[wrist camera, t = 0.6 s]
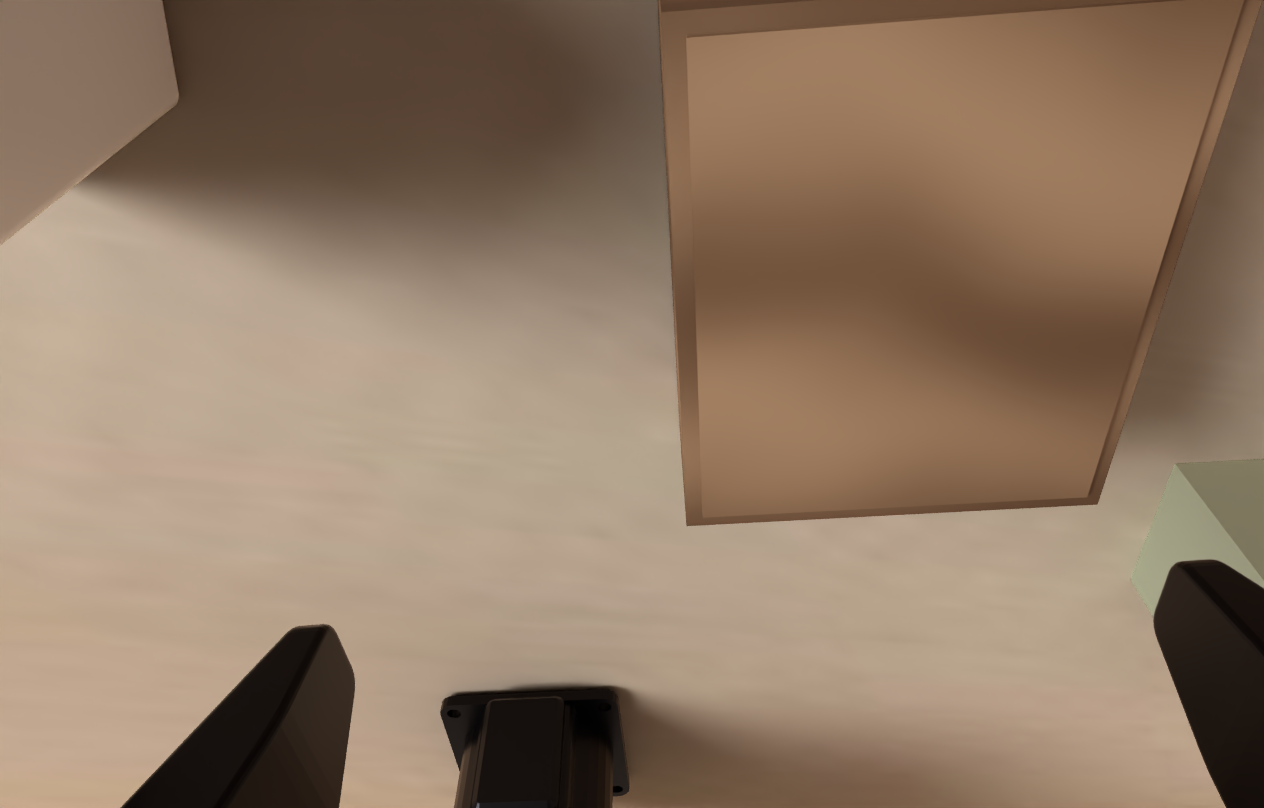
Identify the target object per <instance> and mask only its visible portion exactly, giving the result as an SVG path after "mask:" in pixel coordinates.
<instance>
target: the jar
mask: <svg viewBox="0 0 1264 808" xmlns="http://www.w3.org/2000/svg"><path fill="white" fill-rule="evenodd" d="M178 100H179V91H178V86H177V80H176V74H175V69H174V63H173V58H172V52H171V46H170V41H169V35H168V29H167V24H166V18H165V12H164V7H163V1H162V0H0V245H2V244H3V243H4V242H5V241H7V240H8V239H9V238H10V237H12V236H13V235H14V234H15V233H17V232H18V231H19V230H20V229H22V228H23V227H24V226H25V225H27V224H28V223H29V222H30V221H32V220H33V219H34V218H35V217H37V216H38V215H39V214H40V213H42V212H43V211H44V210H45V209H47V208H48V207H49V206H50V205H52V204H53V203H54V202H55V201H57V200H58V199H59V198H60V197H62V196H63V195H64V194H65V193H67V192H68V191H69V190H70V189H72V188H73V187H74V186H75V185H77V184H78V183H79V182H80V181H82V180H83V179H84V178H85V177H87V176H88V175H89V174H90V173H92V172H93V171H94V170H95V169H97V168H98V167H99V166H100V165H102V164H103V163H104V162H105V161H107V160H108V159H109V158H110V157H112V156H113V155H114V154H115V153H117V152H118V151H119V150H120V149H122V148H123V147H124V146H125V145H127V144H128V143H129V142H130V141H132V140H133V139H134V138H135V137H137V136H138V135H139V134H140V133H142V132H143V131H144V130H145V129H147V128H148V127H149V126H150V125H152V124H153V123H154V122H155V121H157V120H158V119H159V118H160V117H162V116H163V115H164V114H165V113H167V112H168V111H169V110H170V109H172V108H173V107H174V106H175V105H176V104H177V102H178Z"/></svg>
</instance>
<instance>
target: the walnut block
mask: <svg viewBox="0 0 1264 808" xmlns="http://www.w3.org/2000/svg"><path fill="white" fill-rule="evenodd" d="M1261 3H1262V0H658V15H659V34H660V54H661V74H662V93H663V113H664V132H665V152H666V171H667V191H668V211H669V230H670V250H671V269H672V289H673V308H674V328H675V348H676V367H677V387H678V406H679V426H680V440H681V454H682V468H683V482H684V496H685V510H686V524H687V526H696V525H715V524H734V523H753V522H772V521H791V520H810V519H829V518H848V517H867V516H886V515H905V514H924V513H943V512H962V511H981V510H1000V509H1019V508H1038V507H1057V506H1076V505H1095V504H1098V501H1099V498H1100V495H1101V492H1102V489H1103V486H1104V483H1105V480H1106V477H1107V474H1108V471H1109V468H1110V464H1111V461H1112V458H1113V455H1114V452H1115V449H1116V446H1117V443H1118V440H1119V437H1120V434H1121V431H1122V428H1123V425H1124V422H1125V419H1126V416H1127V413H1128V409H1129V406H1130V403H1131V400H1132V397H1133V394H1134V391H1135V388H1136V385H1137V382H1138V379H1139V376H1140V373H1141V370H1142V367H1143V364H1144V361H1145V358H1146V355H1147V351H1148V348H1149V345H1150V342H1151V339H1152V336H1153V333H1154V330H1155V327H1156V324H1157V321H1158V318H1159V315H1160V312H1161V309H1162V306H1163V303H1164V300H1165V296H1166V293H1167V290H1168V287H1169V284H1170V281H1171V278H1172V275H1173V272H1174V269H1175V266H1176V263H1177V260H1178V257H1179V254H1180V251H1181V248H1182V245H1183V241H1184V238H1185V235H1186V232H1187V229H1188V226H1189V223H1190V220H1191V217H1192V214H1193V211H1194V208H1195V205H1196V202H1197V199H1198V196H1199V193H1200V190H1201V187H1202V183H1203V180H1204V177H1205V174H1206V171H1207V168H1208V165H1209V162H1210V159H1211V156H1212V153H1213V150H1214V147H1215V144H1216V141H1217V138H1218V135H1219V132H1220V128H1221V125H1222V122H1223V119H1224V116H1225V113H1226V110H1227V107H1228V104H1229V101H1230V98H1231V95H1232V92H1233V89H1234V86H1235V83H1236V80H1237V77H1238V74H1239V70H1240V67H1241V64H1242V61H1243V58H1244V55H1245V52H1246V49H1247V46H1248V43H1249V40H1250V37H1251V34H1252V31H1253V28H1254V25H1255V22H1256V19H1257V15H1258V12H1259V9H1260V6H1261Z"/></svg>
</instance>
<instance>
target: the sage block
mask: <svg viewBox="0 0 1264 808" xmlns="http://www.w3.org/2000/svg"><path fill="white" fill-rule="evenodd" d="M1205 559H1213V560H1218V561H1221V562H1223V563H1225V564H1227V565H1228V566H1230V567H1231V568H1233V569H1235V570H1236V571H1238V572H1239V573H1241V574H1242V575H1244V576H1246V577H1247V578H1249V579H1250V580H1252V581H1253V582H1255V583H1257V584H1258V585H1260V586H1261V587H1263V588H1264V459H1253V460H1235V461H1217V462H1198V463H1180V464H1175V465H1174V467H1173V470H1172V473H1171V475H1170V478H1169V480H1168V483H1167V486H1166V488H1165V491H1164V494H1163V496H1162V499H1161V501H1160V504H1159V507H1158V509H1157V512H1156V514H1155V517H1154V520H1153V522H1152V525H1151V527H1150V530H1149V533H1148V535H1147V538H1146V540H1145V543H1144V546H1143V548H1142V551H1141V553H1140V556H1139V559H1138V561H1137V564H1136V566H1135V569H1134V572H1133V574H1132V577H1131V579H1130V580H1131V581H1132V583H1133V585H1134V586H1135V588H1136V590H1137V591H1138V593H1139V595H1140V596H1141V598H1142V600H1143V601H1144V603H1145V605H1146V606H1147V608H1148V610H1149V611H1150V613H1151V615H1152V616H1153V618H1154V612H1155V609H1156V606H1157V603H1158V600H1159V598H1160V595H1161V592H1162V589H1163V586H1164V584H1165V581H1166V578H1167V575H1168V572H1169V570H1170V568H1171V567H1172V566H1173V565H1174V564H1175V563H1177V562H1180V561H1191V560H1205Z"/></svg>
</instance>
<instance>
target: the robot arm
mask: <svg viewBox="0 0 1264 808" xmlns="http://www.w3.org/2000/svg"><path fill="white" fill-rule="evenodd" d="M1153 621H1154V630H1155V634H1156V637H1157V640H1158V643H1159V645H1160V648H1161V650H1162V653H1163V656H1164V658H1165V661H1166V663H1167V666H1168V669H1169V671H1170V674H1171V677H1172V679H1173V682H1174V684H1175V687H1176V690H1177V692H1178V695H1179V698H1180V700H1181V703H1182V705H1183V708H1184V711H1185V713H1186V716H1187V718H1188V721H1189V724H1190V726H1191V729H1192V732H1193V734H1194V737H1195V739H1196V742H1197V745H1198V747H1199V750H1200V752H1201V755H1202V757H1203V759H1204V762H1205V764H1206V767H1207V769H1208V772H1209V774H1210V776H1211V778H1212V780H1213V782H1214V784H1215V786H1216V788H1217V790H1218V792H1219V794H1220V796H1221V798H1222V800H1223V802H1224V804H1225V806H1226V808H1264V588H1263V587H1261V586H1260V585H1258V584H1257V583H1255V582H1253V581H1252V580H1250V579H1249V578H1247V577H1246V576H1244V575H1242V574H1241V573H1239V572H1238V571H1236V570H1235V569H1233V568H1231V567H1230V566H1228V565H1227V564H1225V563H1223V562H1221V561H1218V560H1213V559H1205V560H1191V561H1180V562H1177V563H1175V564H1174V565H1173V566H1172V567H1171V568H1170V570H1169V572H1168V575H1167V578H1166V581H1165V584H1164V586H1163V589H1162V592H1161V595H1160V598H1159V600H1158V603H1157V606H1156V609H1155V612H1154V620H1153ZM354 693H355V678H354V672H353V669H352V666H351V664H350V662H349V660H348V658H347V655H346V653H345V651H344V649H343V647H342V644H341V642H340V640H339V638H338V635H337V633H336V632H335V630H334V628H332V627H331V626H330V625H326V624H320V625H307V626H298V627H295V628H293V629H291V630H290V631H288V632H287V633H286V634H285V635H284V636H283V637H282V638H281V639H280V640H279V642H278V643H277V644H276V645H275V646H274V647H273V648H272V649H271V650H270V651H269V652H268V653H267V654H266V655H265V656H264V657H263V658H262V659H261V660H260V662H259V663H258V664H257V665H256V666H255V667H254V668H253V669H252V670H251V671H250V672H249V673H248V674H247V675H246V676H245V677H244V678H243V679H242V680H241V682H240V683H239V684H238V685H237V686H236V687H235V688H234V689H233V690H232V691H231V692H230V693H229V694H228V695H227V696H226V697H225V698H224V699H223V700H222V701H221V703H220V704H219V705H218V706H217V707H216V708H215V709H214V710H213V711H212V712H211V713H210V714H209V715H208V716H207V717H206V718H205V719H204V720H203V721H202V723H201V724H200V725H199V726H198V727H197V728H196V729H195V730H194V731H193V732H192V733H191V734H190V735H189V736H188V737H187V738H186V739H185V740H184V741H183V743H182V744H181V745H180V746H179V747H178V748H177V749H176V750H175V751H174V752H173V753H172V754H171V755H170V756H169V757H168V758H167V759H166V760H165V761H164V763H163V764H162V765H161V766H160V767H159V768H158V769H157V770H156V771H155V772H154V773H153V774H152V775H151V776H150V777H149V778H148V779H147V780H146V781H145V783H144V784H143V785H142V786H141V787H140V788H139V789H138V790H137V791H136V792H135V793H134V794H133V795H132V796H131V797H130V798H129V799H128V800H127V801H126V803H125V804H124V805H123V806H122V807H121V808H339V803H340V796H341V789H342V781H343V774H344V766H345V759H346V752H347V744H348V737H349V730H350V722H351V715H352V708H353V700H354ZM440 713H441V717H442V720H443V723H444V726H445V729H446V732H447V735H448V738H449V741H450V744H451V747H452V750H453V753H454V756H455V759H456V762H457V765H458V768H459V771H460V775H459V781H458V787H457V793H456V799H455V805H454V808H612V802H613V796H621V795H624V794H626V793H627V792H628V791H629V775H628V767H627V760H626V752H625V745H624V738H623V730H622V723H621V715H620V708H619V700H618V696H617V694H616V693H615V692H613V691H611V690H606V689H598V690H576V691H554V692H532V693H510V694H488V695H465V696H451V697H447V698H445V699H444V700H443V701H442V706H441V711H440Z"/></svg>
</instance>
